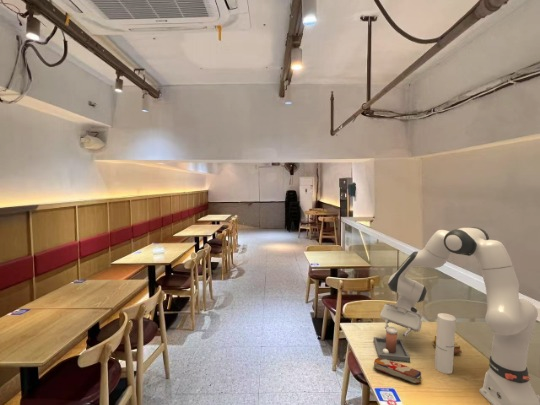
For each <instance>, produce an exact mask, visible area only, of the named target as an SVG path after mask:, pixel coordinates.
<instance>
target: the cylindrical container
mask: <svg viewBox="0 0 540 405" xmlns="http://www.w3.org/2000/svg"><path fill="white" fill-rule="evenodd" d="M436 318H437V320H436V335H435V336H436V347H435V357H434V368H435V369H436V370H437V371H438V372H440V373H442V374H444V375H445V374H447V375H450V374H452V373H453V372H454V371H453V368H454V356H455V354H454V342H455V338H456V325H457V324H456V322H457V318H456V317H455V315H452V314H449V313H443V312H441V313H440V312H439V313H437V317H436Z"/></svg>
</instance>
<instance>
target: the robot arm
mask: <svg viewBox="0 0 540 405" xmlns="http://www.w3.org/2000/svg"><path fill="white" fill-rule="evenodd" d="M489 236H490V235H489V234H488V233H487V232H486V231H485V230H484V229H482V228H480V227H475V226H470V227H460V228H456V229H452V230H450V231H449V230H446V229H438V230H436V231H435V232H434V233H433V234H432V236H430V238H429V239H428V241H427V242H426V244H425V246H424V248H422V249H420V250H419V251H417V250H415V251H414V252H412V253H411V254H410V255H409V256H408V257H407V258H406V259H405V260H404V261H403V263H402V264H401V265H400V266H399V267H398V268H397V269H396V271H395V272H394V273H392V274H391V275H390V277H389V279H388V281H387V285H388V288H389V289H390V291H392V292H395V293H397V294H399V297H398V298H397V301H396V304H391V303H385V304H384V305H383V308H382V310H381V311H380V314H379V316H380V318H381V319H382V320H383V321H384V323H385V324H384V325H385V326H384V328H385V330H386V328H387V327H390V326H389V324H390V323H392V324H395V325H397V326H400V327H403V328H405V329H407V330H406V331H403V333H402V336H403V337H405V338H407V337H408V335H409V334H410V333H412V331H413V332H415V333H419V332H420V331H421V329H422V324H423V322H422V318H423V314H422V313H421V311H420V310H419V309H418V308H416V303H422V302H424V301H425V297H426V295H427V292H428V290H427V288H426V286H425V285H424V284H422V283H421V282H419V281H417V280H415V279H412V278H409V277H407V276H406V275H407V273H408V272H409V271H410V270H411V269H412V268H415V267H423V268H428V269H438V268H442V267H443V266H444V265H445V264H446V263H447V261H448V260H449V258H450V257H451V255H452V254H456V255H463V256H468V257H471V256H473V257H475V258H476V260H477V263H478V265H479V270H480V272H481V276H482V278H483V283H484V286H485V292H486V314H485V317H484V318H485V319H484V321H485V323H486V325H487V327H488V329H490V330H491V331H492V332H493V333H494V335H493V338H492V342H491V343H492V344H491V355H490V356H489V359H488V360H489V361H488V362H489V363H488V366H489V368H488V369H487V371H486V372H485V374H484V379H483V384H482V387H480V388H479V393H480V394H481V395H482V396H483V397H484V398H485V399H486V400H487V402H489V403H490V404H491V405H540V394H536V392H535V390H534V386H533V384H531V382H530V380H531V376H530V374H529V370H528V366H527V364H528V353H529V348H530V343H531V340H532V337H533V334H534V329H535V325H536V322H537V319H538V316H539V312H538V309H537V307H536V306H535V305H534V304H533V303H532V302H531V301H529V300H527V299H524V298H520V296H519V293H520V292H519V291H520V290H519V289H520V282H519V279H518V277H517V273H516V271H515V270H516V269H515V266H514V264H513V262H512V259H511V256H510V254H509V252H508V251H507V248H506V247H505V246H504V244H503V242H501V241H499V240H496V239H495V240H494V239H490V237H489Z"/></svg>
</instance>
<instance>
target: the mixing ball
mask: <svg viewBox="0 0 540 405" xmlns="http://www.w3.org/2000/svg"><path fill="white" fill-rule="evenodd" d="M382 353H383V354H389V351H388V350H387V349H383V350H382Z"/></svg>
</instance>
